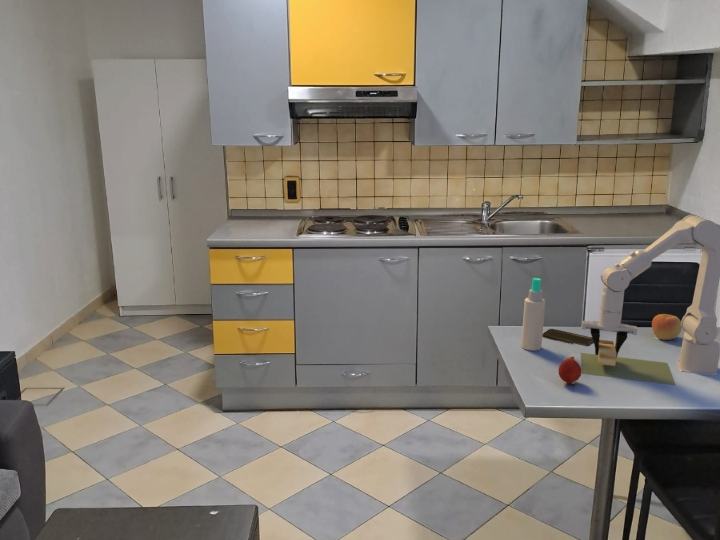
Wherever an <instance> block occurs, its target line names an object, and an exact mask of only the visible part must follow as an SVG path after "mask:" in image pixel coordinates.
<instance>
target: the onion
mask: <svg viewBox="0 0 720 540" xmlns="http://www.w3.org/2000/svg"><path fill="white" fill-rule="evenodd" d="M557 373H558V375H559V378H560V379H561V380H562V381H563V382H564V383H566V384H568V385H572V384H573V383H574V382H576V381H578V380H579V379H580V377H581V376H582V370H581V364H579V363H578V361H576V359H575V356H574V355H570V356H569V357H568V358H566V359H564V360H563V361H562V362H561V363H560V364H559V366H558V372H557Z"/></svg>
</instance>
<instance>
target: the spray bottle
mask: <svg viewBox="0 0 720 540" xmlns="http://www.w3.org/2000/svg"><path fill="white" fill-rule="evenodd" d="M531 282H532V283H531V288H530V289H529V290H528V297H526V298H525V299H524V302H523V303H524V306H523V316H522V317H523V319H522V331H521V339H520V340H521V343H520V346H521V348H522V349H524V350H527V351H531V352H533V351H534V352H535V351H539V350H541V349H542V342H543V337H542V334H543V333H544V332H543V331H544V321H545V320H544V319H545V309H546V300H545V299H544V298H543V290H542V289H541V286H542V285H541V283H542V279H541V278H538V277H532V281H531Z"/></svg>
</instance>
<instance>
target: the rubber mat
mask: <svg viewBox="0 0 720 540" xmlns="http://www.w3.org/2000/svg"><path fill="white" fill-rule="evenodd" d="M580 367H581V375H584V374H585V375H591V376H597V377H598V376H599V377H606V378H615V379H622V380H630V381H639V382H646V383H654V384H662V385H663V384H664V385H671V386H676V385H677V384H676V382H675V379H674V377H673V373H672V371H671V369H670V366H669V363H668V362H665V361H664V362H662V361H655V360H648V359H638V358H630V357H629V358H628V357H620V356H617V357H616V364H615V366H611V365H602V364H598V358H597V355H595V353H585V352H580Z"/></svg>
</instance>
